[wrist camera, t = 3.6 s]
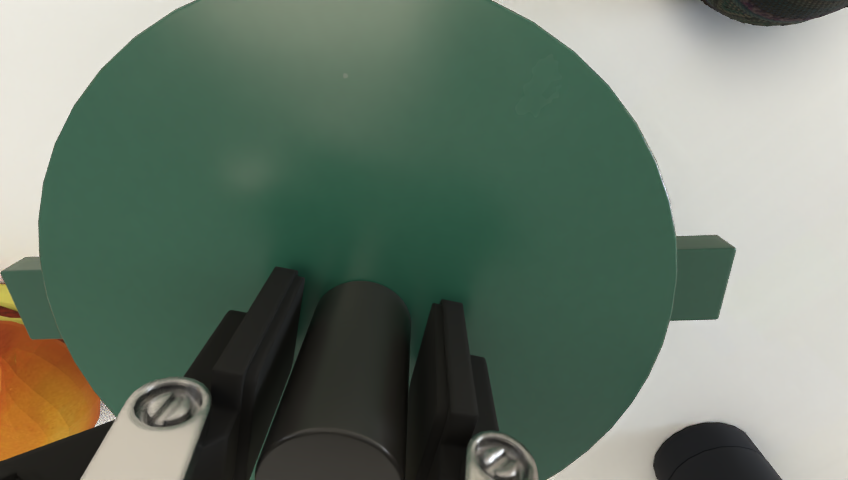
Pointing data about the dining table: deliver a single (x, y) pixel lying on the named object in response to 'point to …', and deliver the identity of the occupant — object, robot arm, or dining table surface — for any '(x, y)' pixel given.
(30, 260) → the pot
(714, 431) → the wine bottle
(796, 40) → the dining table surface
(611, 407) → the lid
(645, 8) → the dining table surface
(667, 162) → the dining table surface
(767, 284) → the dining table surface
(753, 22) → the mate gourd
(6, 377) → the cheeseburger
